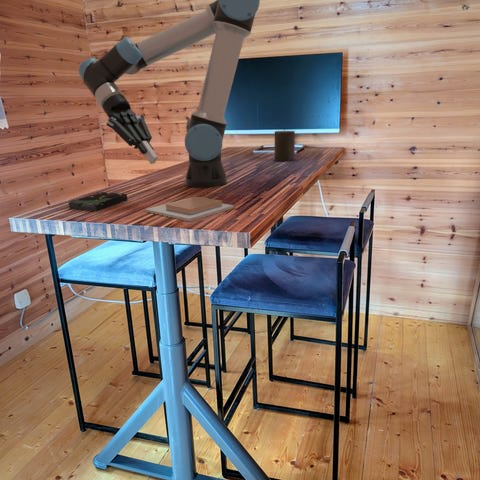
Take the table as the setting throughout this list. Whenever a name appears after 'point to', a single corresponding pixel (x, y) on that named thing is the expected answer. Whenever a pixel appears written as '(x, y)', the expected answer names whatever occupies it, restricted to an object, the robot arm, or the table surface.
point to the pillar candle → (284, 145)
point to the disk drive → (97, 201)
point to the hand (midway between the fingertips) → (154, 160)
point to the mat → (162, 211)
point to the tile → (193, 205)
